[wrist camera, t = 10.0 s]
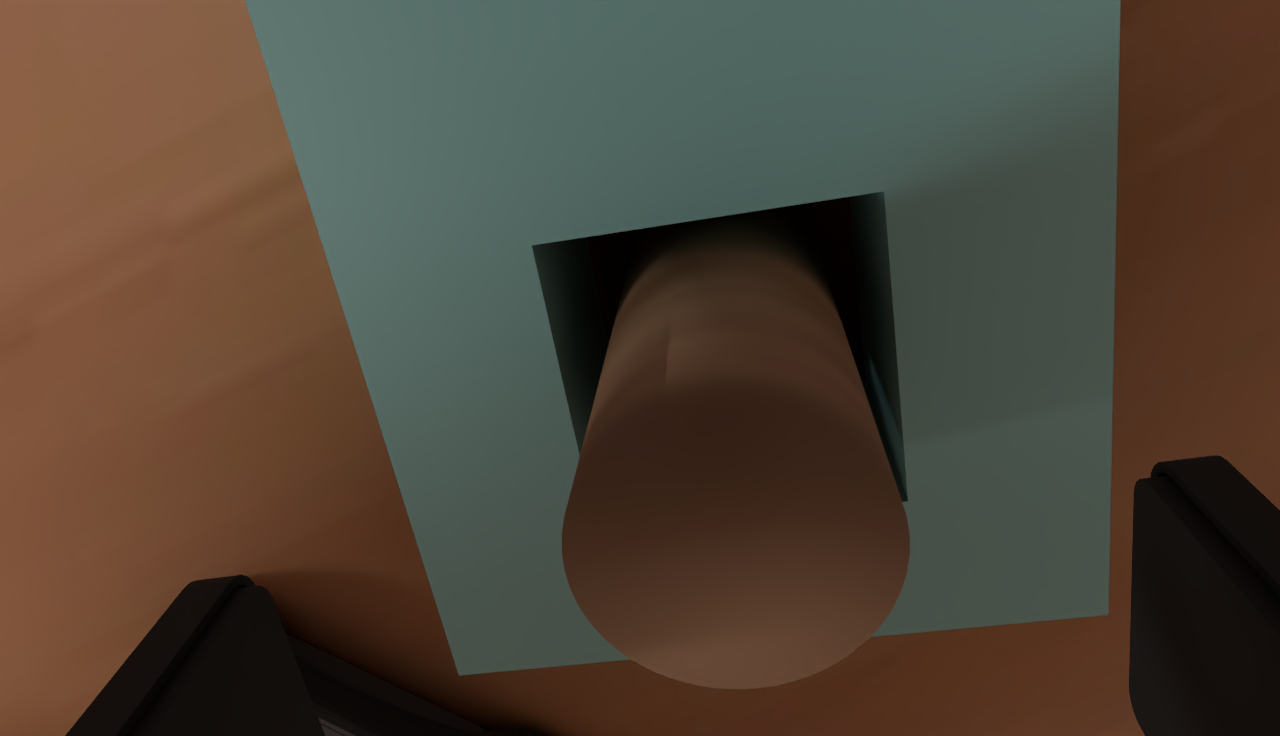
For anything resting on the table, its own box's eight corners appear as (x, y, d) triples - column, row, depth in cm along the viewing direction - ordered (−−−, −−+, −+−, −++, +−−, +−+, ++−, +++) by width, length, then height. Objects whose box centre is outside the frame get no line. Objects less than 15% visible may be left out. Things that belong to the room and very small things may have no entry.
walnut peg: (829, 351, 21) (920, 674, 12) (646, 376, 21) (597, 702, 12) (810, 168, 19) (897, 375, 10) (613, 200, 20) (527, 422, 11)
